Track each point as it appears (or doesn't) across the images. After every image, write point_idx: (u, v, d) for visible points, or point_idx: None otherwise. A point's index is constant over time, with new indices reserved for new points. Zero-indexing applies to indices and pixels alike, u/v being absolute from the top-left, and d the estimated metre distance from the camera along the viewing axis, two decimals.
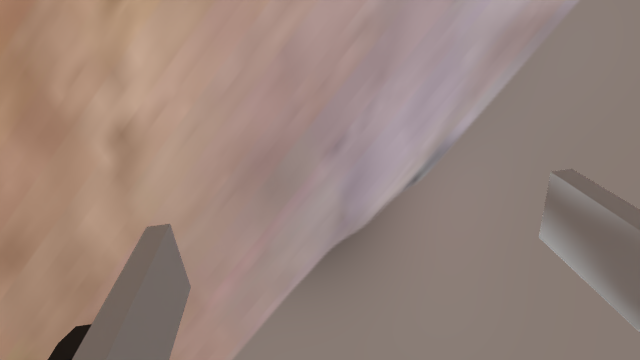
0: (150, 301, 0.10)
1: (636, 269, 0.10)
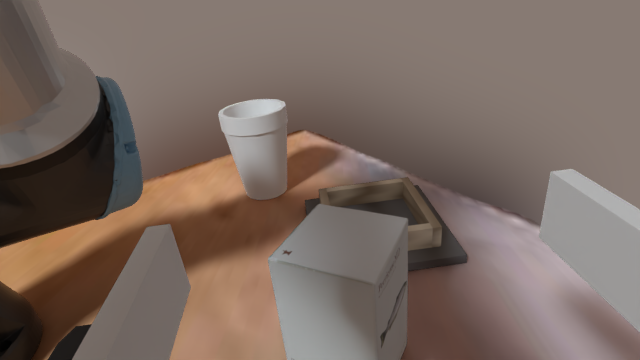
0: (150, 301, 0.10)
1: (636, 269, 0.10)
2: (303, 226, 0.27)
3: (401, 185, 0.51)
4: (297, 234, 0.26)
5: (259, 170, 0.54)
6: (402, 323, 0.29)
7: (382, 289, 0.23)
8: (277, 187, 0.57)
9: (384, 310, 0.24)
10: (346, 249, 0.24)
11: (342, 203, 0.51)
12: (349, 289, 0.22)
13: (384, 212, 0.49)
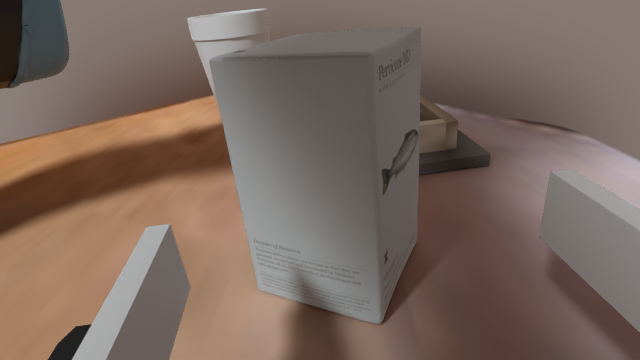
0: (150, 301, 0.10)
1: (636, 269, 0.10)
2: (269, 42, 0.19)
3: None
4: (258, 45, 0.18)
5: None
6: (412, 195, 0.20)
7: (384, 83, 0.14)
8: None
9: (387, 129, 0.15)
10: (328, 41, 0.16)
11: None
12: (331, 78, 0.14)
13: None
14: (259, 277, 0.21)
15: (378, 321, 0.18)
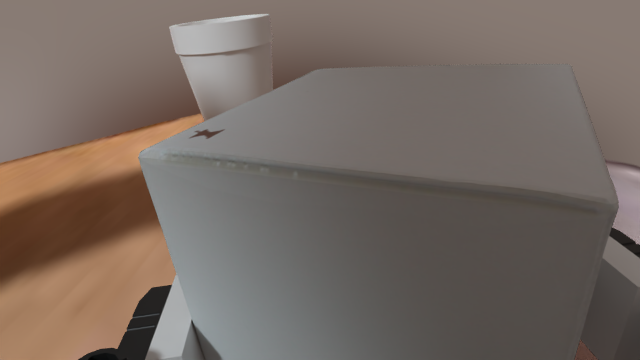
0: None
1: None
2: (274, 92, 0.10)
3: None
4: (253, 103, 0.09)
5: None
6: None
7: None
8: None
9: None
10: (414, 115, 0.07)
11: None
12: (454, 246, 0.05)
13: None
14: None
15: None
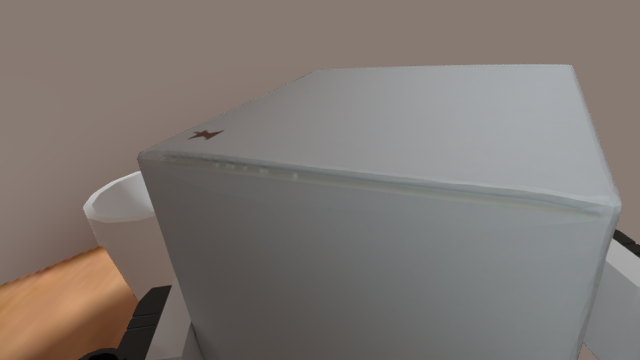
0: None
1: None
2: (274, 93, 0.10)
3: None
4: (252, 104, 0.09)
5: None
6: None
7: None
8: None
9: None
10: (414, 115, 0.07)
11: None
12: (455, 249, 0.05)
13: None
14: None
15: None
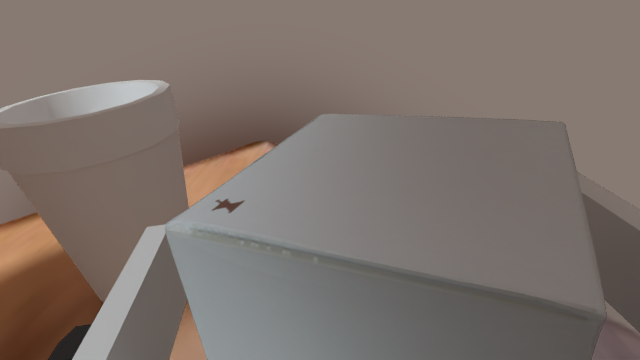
0: (150, 301, 0.10)
1: (636, 269, 0.10)
2: (285, 148, 0.10)
3: None
4: (266, 163, 0.09)
5: (101, 254, 0.22)
6: None
7: None
8: None
9: None
10: (421, 190, 0.07)
11: None
12: (460, 334, 0.05)
13: None
14: None
15: None
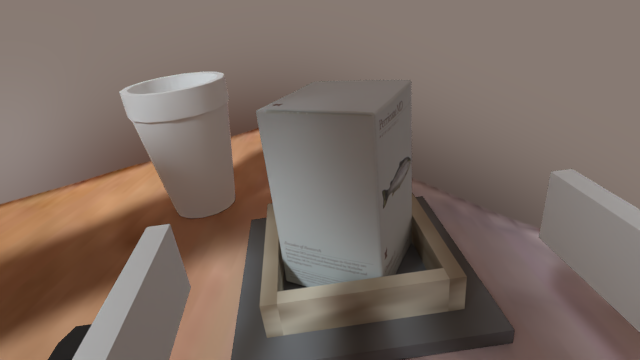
0: (150, 301, 0.10)
1: (636, 269, 0.10)
2: (296, 92, 0.25)
3: None
4: (289, 96, 0.24)
5: (184, 175, 0.36)
6: (406, 207, 0.26)
7: (383, 130, 0.20)
8: (216, 200, 0.39)
9: (386, 161, 0.21)
10: (343, 98, 0.22)
11: None
12: (346, 128, 0.20)
13: None
14: (287, 271, 0.27)
15: None
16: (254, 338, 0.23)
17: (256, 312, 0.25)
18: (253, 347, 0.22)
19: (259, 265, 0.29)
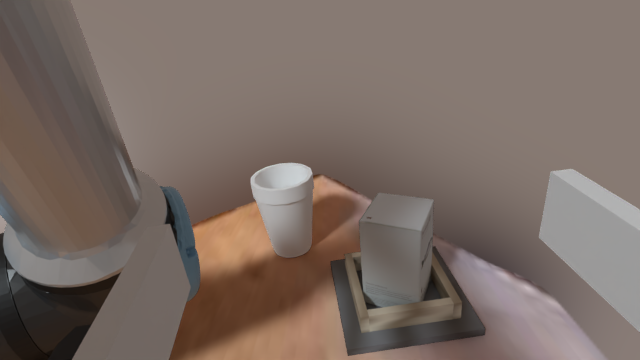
0: (150, 301, 0.10)
1: (636, 269, 0.10)
2: (374, 204, 0.47)
3: None
4: (371, 208, 0.46)
5: (288, 233, 0.58)
6: (429, 262, 0.49)
7: (423, 235, 0.42)
8: (303, 246, 0.61)
9: (423, 247, 0.43)
10: (402, 215, 0.44)
11: None
12: (406, 235, 0.42)
13: None
14: (365, 297, 0.49)
15: None
16: (354, 333, 0.45)
17: (351, 319, 0.47)
18: (355, 337, 0.45)
19: (345, 292, 0.52)
